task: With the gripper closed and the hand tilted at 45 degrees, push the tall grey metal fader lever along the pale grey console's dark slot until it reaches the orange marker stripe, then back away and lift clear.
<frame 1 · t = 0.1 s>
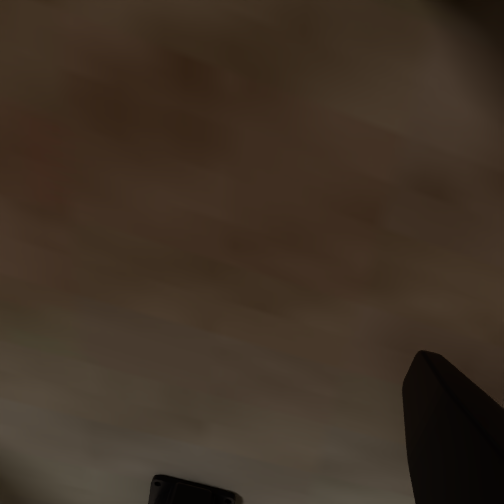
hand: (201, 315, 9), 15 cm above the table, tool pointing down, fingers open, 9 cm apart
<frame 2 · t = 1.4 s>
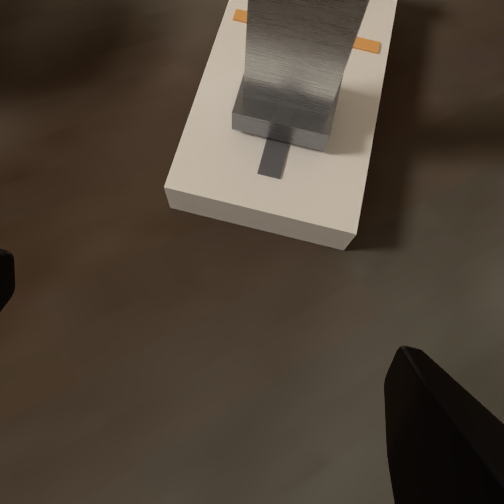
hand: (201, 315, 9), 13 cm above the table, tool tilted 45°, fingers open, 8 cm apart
fader: (301, 32, 18), point 8 cm above the table, slide at 0.0 cm
console: (289, 99, 27), on the table
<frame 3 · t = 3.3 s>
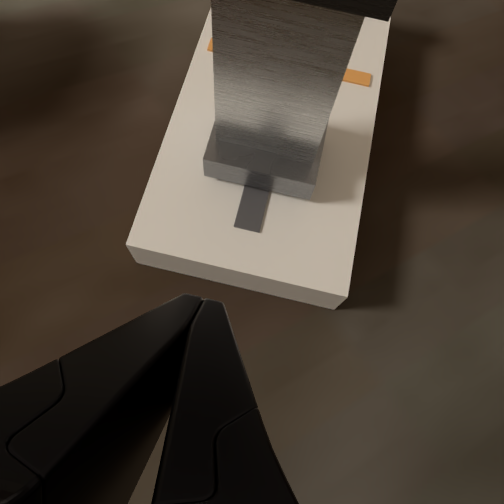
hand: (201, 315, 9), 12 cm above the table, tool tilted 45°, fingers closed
fader: (278, 72, 16), point 8 cm above the table, slide at 0.0 cm
console: (272, 136, 24), on the table
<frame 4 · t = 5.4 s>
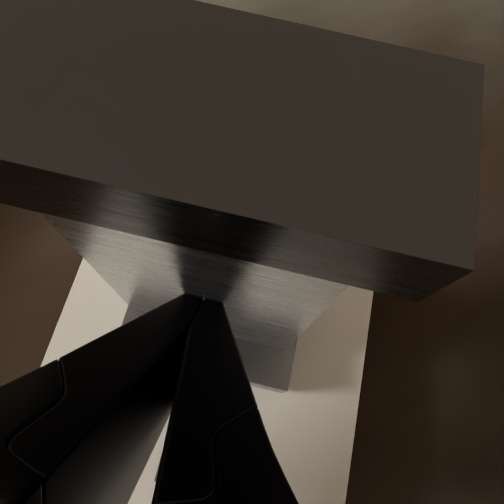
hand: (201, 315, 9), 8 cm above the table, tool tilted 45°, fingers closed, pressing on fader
fader: (215, 260, 9), point 8 cm above the table, slide at 1.2 cm, touching gripper
console: (231, 284, 17), on the table
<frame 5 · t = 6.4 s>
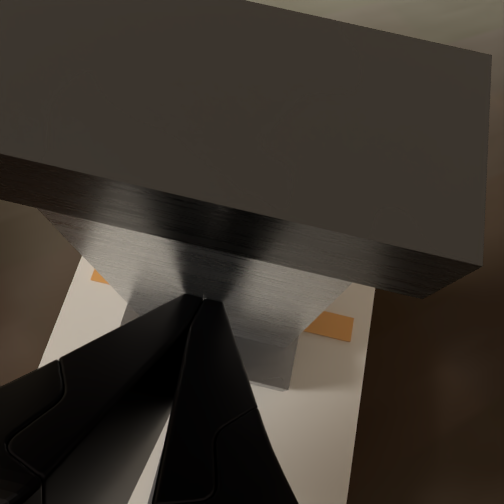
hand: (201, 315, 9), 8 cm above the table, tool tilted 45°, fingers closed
fader: (215, 257, 9), point 8 cm above the table, slide at 5.6 cm
console: (202, 393, 16), on the table
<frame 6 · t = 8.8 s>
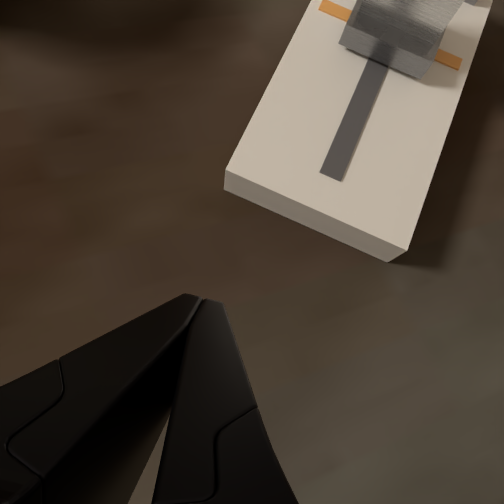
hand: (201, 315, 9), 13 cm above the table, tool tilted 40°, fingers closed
console: (358, 100, 27), on the table
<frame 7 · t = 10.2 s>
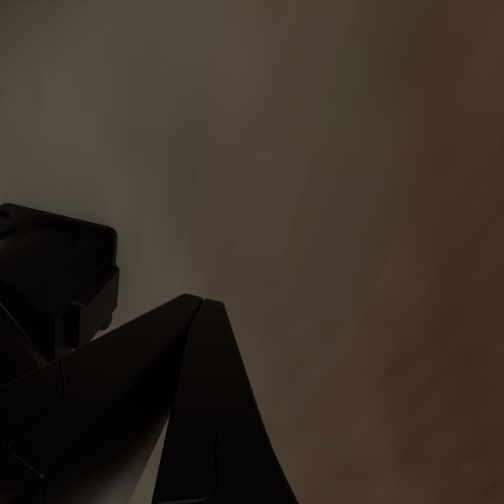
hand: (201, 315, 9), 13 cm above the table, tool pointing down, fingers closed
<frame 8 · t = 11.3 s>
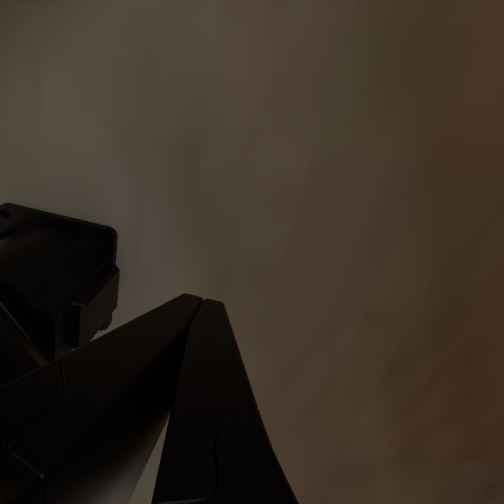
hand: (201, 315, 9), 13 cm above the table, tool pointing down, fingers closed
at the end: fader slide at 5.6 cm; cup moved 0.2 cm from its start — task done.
